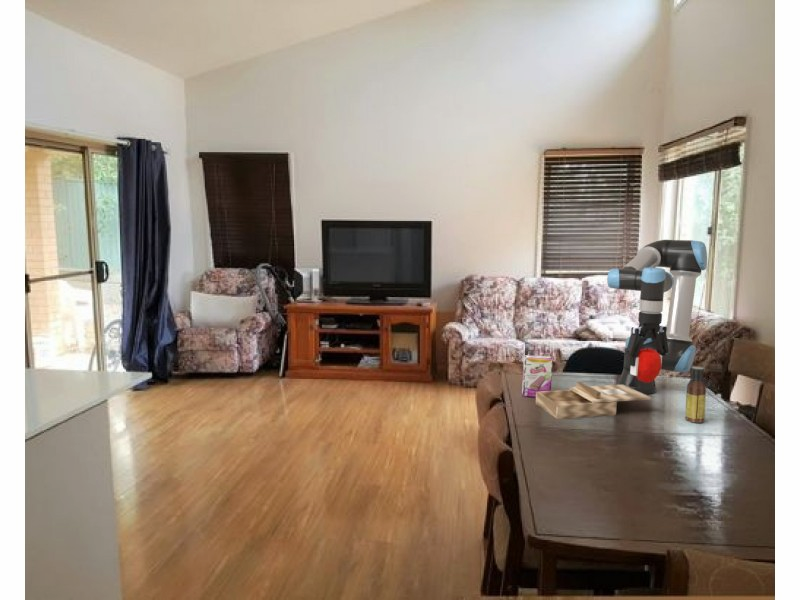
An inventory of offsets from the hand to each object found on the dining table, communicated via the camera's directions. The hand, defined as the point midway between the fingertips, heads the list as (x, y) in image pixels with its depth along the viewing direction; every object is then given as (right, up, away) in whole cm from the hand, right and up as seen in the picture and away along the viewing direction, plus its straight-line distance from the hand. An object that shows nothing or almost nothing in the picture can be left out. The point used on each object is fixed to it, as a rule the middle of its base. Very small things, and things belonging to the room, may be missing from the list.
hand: (645, 373), depth 205 cm
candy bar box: (-32, -13, +29) cm, 45 cm away
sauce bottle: (+19, -18, +4) cm, 27 cm away
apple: (0, -3, 0) cm, 3 cm away
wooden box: (-21, -15, +14) cm, 29 cm away
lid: (-7, -10, +16) cm, 20 cm away
